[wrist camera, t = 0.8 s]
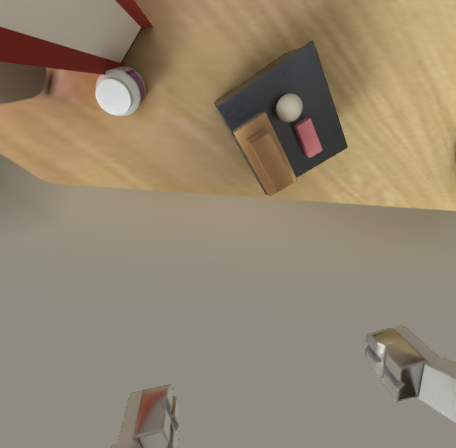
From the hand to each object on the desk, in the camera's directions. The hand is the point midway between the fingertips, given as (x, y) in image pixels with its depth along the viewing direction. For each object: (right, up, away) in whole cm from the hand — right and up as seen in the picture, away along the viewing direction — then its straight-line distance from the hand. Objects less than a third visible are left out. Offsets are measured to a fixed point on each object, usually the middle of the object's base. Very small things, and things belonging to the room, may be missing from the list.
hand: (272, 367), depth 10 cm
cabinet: (+5, +24, +32) cm, 40 cm away
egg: (+6, +21, +22) cm, 31 cm away
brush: (+3, +16, +24) cm, 29 cm away
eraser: (+9, +18, +24) cm, 31 cm away
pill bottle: (-17, +27, +27) cm, 42 cm away
